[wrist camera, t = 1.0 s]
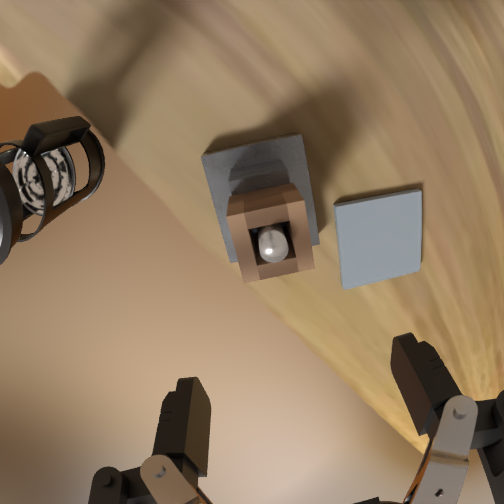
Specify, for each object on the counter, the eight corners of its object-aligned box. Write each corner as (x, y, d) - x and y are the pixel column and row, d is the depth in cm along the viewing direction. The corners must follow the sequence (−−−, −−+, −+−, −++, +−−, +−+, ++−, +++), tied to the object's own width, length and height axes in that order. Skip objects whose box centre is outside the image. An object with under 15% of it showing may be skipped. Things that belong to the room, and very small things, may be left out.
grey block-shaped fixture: (203, 153, 31) (179, 184, 19) (298, 132, 30) (332, 151, 19) (231, 254, 36) (226, 328, 25) (316, 236, 36) (348, 303, 24)
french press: (79, 220, 34) (-42, 344, 13) (28, 177, 31) (-109, 264, 10) (128, 141, 30) (-28, 218, 9) (70, 96, 27) (-100, 125, 6)
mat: (333, 204, 34) (335, 207, 33) (417, 188, 33) (421, 191, 32) (341, 285, 39) (343, 289, 38) (416, 266, 38) (419, 270, 37)
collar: (229, 196, 26) (226, 216, 22) (293, 182, 26) (304, 200, 21) (243, 253, 29) (244, 283, 24) (303, 241, 28) (314, 268, 24)
